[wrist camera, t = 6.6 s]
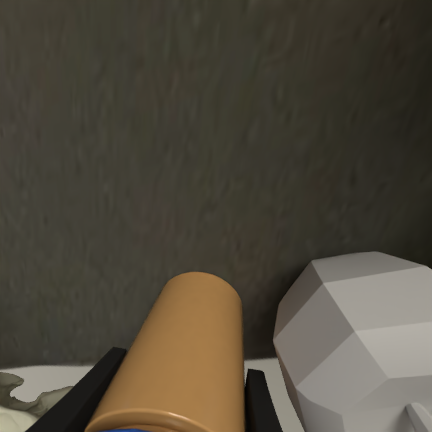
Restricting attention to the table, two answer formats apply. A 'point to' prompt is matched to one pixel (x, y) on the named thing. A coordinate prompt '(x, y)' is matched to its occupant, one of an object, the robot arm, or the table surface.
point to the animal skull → (23, 405)
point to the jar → (182, 364)
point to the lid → (125, 430)
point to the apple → (358, 344)
